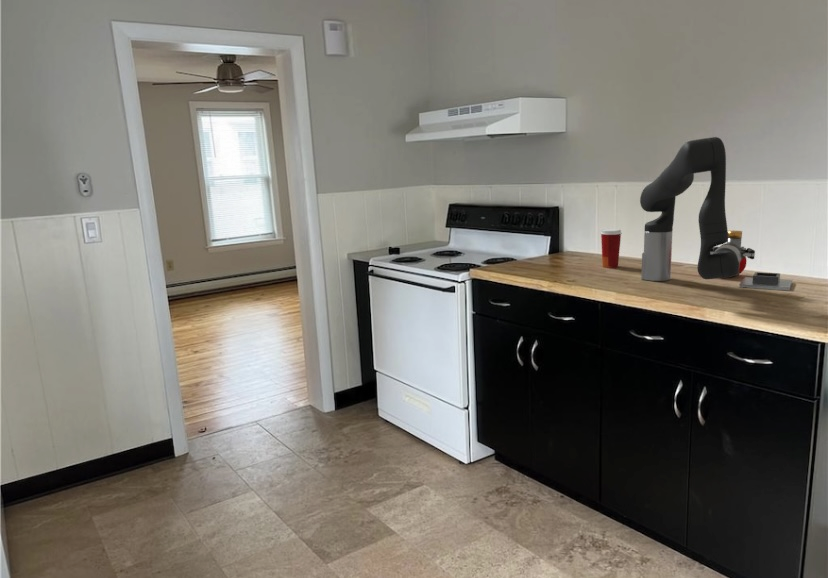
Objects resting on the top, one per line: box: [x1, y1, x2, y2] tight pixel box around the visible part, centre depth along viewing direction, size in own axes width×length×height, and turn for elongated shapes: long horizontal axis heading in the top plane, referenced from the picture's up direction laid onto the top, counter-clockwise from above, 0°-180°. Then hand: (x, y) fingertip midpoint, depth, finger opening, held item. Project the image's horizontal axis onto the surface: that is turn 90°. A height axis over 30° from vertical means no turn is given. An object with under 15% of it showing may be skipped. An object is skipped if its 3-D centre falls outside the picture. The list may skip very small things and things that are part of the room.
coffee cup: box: [599, 228, 622, 269], centre depth 246 cm, size 8×8×15 cm
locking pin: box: [726, 230, 743, 276], centre depth 196 cm, size 4×4×14 cm
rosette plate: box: [738, 271, 793, 291], centre depth 200 cm, size 14×14×4 cm
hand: (734, 249), depth 198 cm, fingers closed on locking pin, 4 cm apart
